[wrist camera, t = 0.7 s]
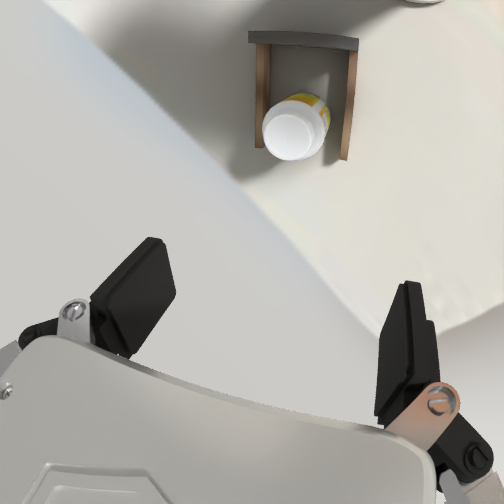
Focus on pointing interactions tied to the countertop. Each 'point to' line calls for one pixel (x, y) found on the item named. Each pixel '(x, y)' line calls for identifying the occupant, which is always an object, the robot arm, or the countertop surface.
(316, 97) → the supplement bottle
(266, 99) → the guide track
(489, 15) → the countertop surface
